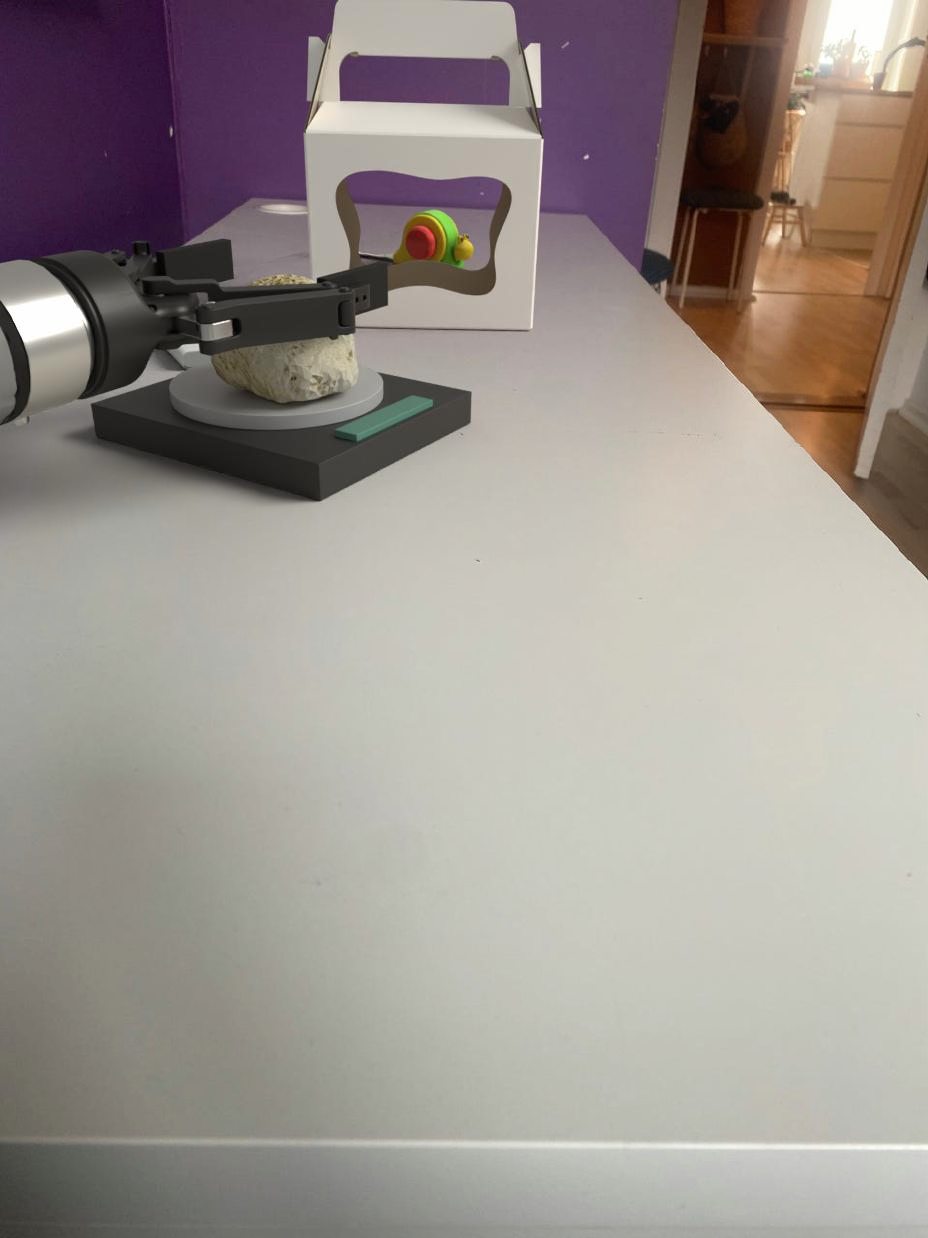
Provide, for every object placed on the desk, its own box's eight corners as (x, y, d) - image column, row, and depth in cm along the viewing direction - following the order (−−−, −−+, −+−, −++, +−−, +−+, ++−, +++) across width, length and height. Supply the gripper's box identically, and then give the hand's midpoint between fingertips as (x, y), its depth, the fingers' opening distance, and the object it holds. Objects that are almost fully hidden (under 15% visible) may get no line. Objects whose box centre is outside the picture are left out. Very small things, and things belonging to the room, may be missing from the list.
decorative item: (190, 306, 73) (313, 244, 73) (251, 414, 76) (368, 356, 76) (178, 326, 62) (322, 253, 62) (248, 451, 66) (385, 382, 65)
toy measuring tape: (458, 275, 122) (459, 218, 119) (331, 256, 131) (329, 202, 127) (484, 268, 127) (486, 212, 124) (360, 250, 136) (359, 197, 132)
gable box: (524, 301, 111) (540, 5, 97) (534, 331, 100) (554, 0, 86) (322, 297, 110) (309, -2, 96) (310, 326, 99) (293, -8, 85)
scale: (95, 436, 70) (87, 389, 69) (266, 376, 84) (263, 336, 82) (320, 501, 62) (318, 448, 60) (470, 422, 75) (472, 377, 73)
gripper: (-78, 363, 61) (177, 300, 77) (233, 446, 50) (454, 353, 66) (-110, 232, 57) (165, 195, 73) (218, 292, 46) (457, 233, 62)
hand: (303, 270), depth 69 cm, fingers open, 13 cm apart
